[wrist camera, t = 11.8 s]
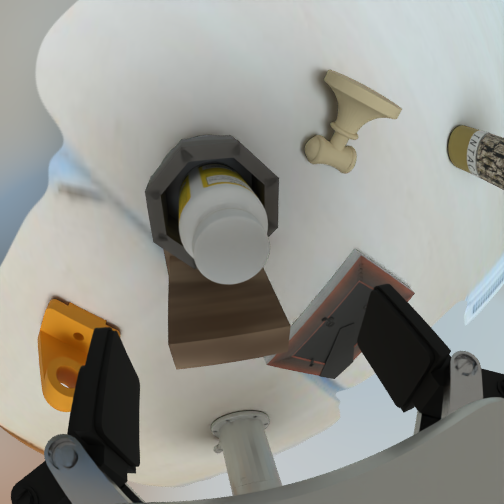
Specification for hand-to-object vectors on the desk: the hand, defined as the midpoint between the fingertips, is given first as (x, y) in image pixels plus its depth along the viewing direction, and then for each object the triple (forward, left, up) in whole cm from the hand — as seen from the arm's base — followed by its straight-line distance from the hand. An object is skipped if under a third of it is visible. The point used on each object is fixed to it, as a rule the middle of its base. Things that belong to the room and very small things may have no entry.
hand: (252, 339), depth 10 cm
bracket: (-26, +6, -22) cm, 34 cm away
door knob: (+13, -9, -22) cm, 27 cm away
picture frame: (-9, -29, -22) cm, 38 cm away
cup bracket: (-3, -2, -22) cm, 22 cm away
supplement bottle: (0, 0, -16) cm, 16 cm away
